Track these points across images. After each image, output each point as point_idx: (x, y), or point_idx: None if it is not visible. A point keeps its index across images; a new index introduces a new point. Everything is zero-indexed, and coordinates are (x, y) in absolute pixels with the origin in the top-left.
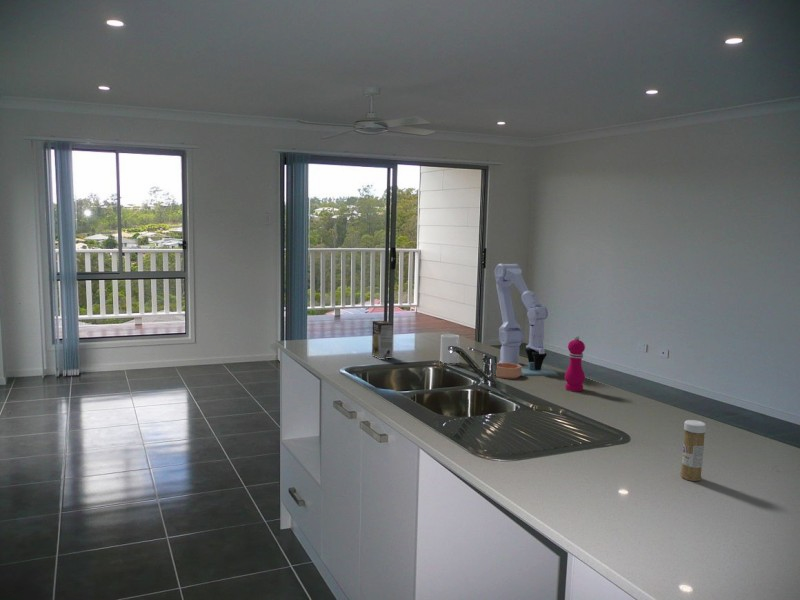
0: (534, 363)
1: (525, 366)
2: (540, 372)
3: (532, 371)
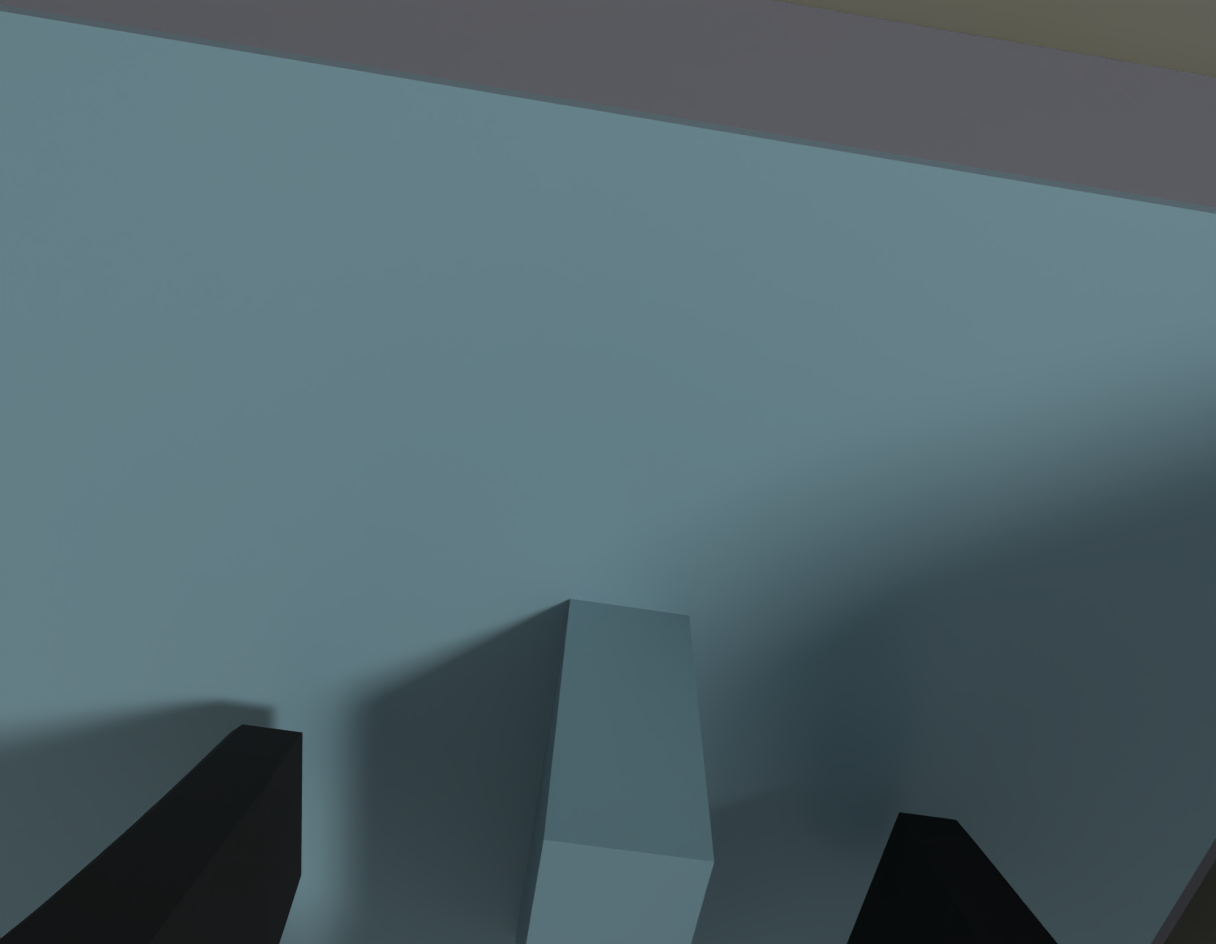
0: (133, 925)
1: (1190, 737)
2: (118, 762)
3: (288, 584)
